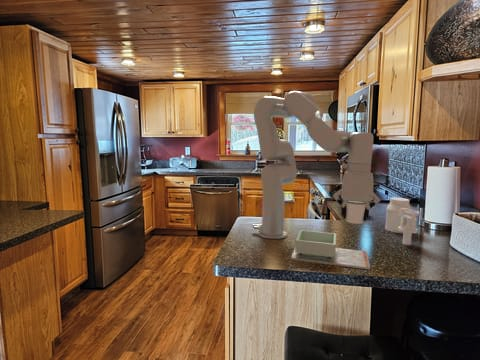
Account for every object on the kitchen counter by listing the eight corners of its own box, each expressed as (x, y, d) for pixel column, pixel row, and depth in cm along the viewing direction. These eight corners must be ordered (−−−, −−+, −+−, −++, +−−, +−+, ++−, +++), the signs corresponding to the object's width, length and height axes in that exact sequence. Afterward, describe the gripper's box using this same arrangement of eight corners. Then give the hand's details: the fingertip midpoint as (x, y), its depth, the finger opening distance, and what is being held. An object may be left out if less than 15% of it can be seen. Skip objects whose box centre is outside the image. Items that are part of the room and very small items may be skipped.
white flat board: (290, 259, 111) (291, 257, 111) (296, 245, 126) (296, 243, 126) (370, 269, 103) (370, 267, 103) (366, 253, 118) (366, 251, 118)
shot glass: (355, 225, 106) (356, 205, 105) (339, 220, 112) (341, 200, 111) (369, 223, 110) (370, 203, 109) (353, 218, 115) (355, 199, 114)
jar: (389, 225, 159) (391, 196, 157) (410, 229, 153) (413, 198, 151) (383, 230, 150) (385, 199, 148) (405, 234, 144) (408, 202, 142)
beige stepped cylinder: (393, 241, 134) (396, 206, 132) (409, 241, 134) (412, 206, 132) (403, 246, 127) (406, 210, 125) (420, 246, 127) (423, 210, 125)
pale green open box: (294, 255, 112) (295, 240, 111) (299, 243, 124) (300, 229, 124) (334, 260, 108) (335, 244, 107) (335, 247, 120) (336, 233, 120)
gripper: (332, 167, 107) (328, 218, 110) (387, 171, 102) (382, 224, 105) (332, 165, 114) (329, 213, 117) (384, 168, 109) (379, 218, 112)
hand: (354, 218), depth 111 cm, fingers closed on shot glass, 6 cm apart
